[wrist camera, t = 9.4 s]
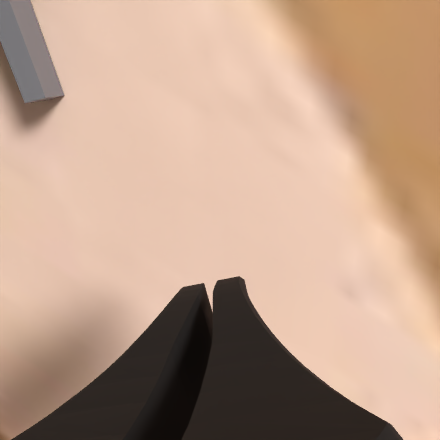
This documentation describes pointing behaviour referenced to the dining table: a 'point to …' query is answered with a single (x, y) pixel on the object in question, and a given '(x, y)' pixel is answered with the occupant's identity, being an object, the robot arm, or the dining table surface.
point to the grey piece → (27, 52)
